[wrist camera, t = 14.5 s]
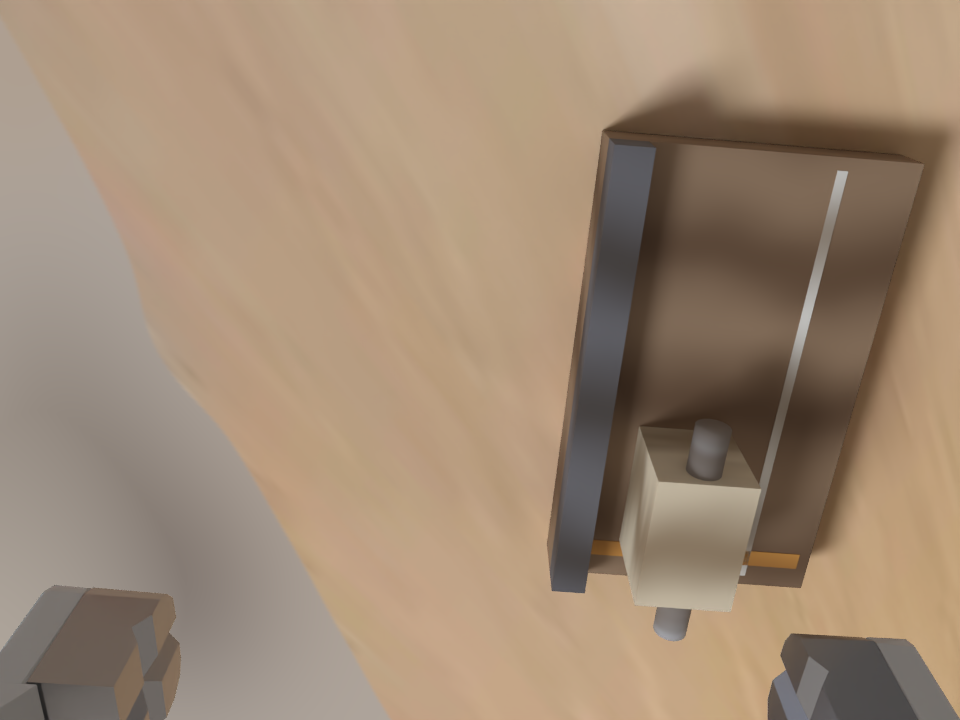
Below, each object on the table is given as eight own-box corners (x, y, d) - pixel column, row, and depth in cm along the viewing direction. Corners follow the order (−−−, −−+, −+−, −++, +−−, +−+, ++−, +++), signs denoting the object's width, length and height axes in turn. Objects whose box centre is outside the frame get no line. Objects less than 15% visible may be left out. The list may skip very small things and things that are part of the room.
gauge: (646, 384, 35) (667, 436, 31) (739, 391, 35) (772, 443, 31) (613, 574, 39) (627, 642, 35) (696, 580, 39) (720, 649, 35)
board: (602, 130, 33) (614, 144, 29) (900, 154, 33) (944, 171, 30) (547, 544, 41) (551, 590, 37) (786, 561, 41) (812, 609, 38)
